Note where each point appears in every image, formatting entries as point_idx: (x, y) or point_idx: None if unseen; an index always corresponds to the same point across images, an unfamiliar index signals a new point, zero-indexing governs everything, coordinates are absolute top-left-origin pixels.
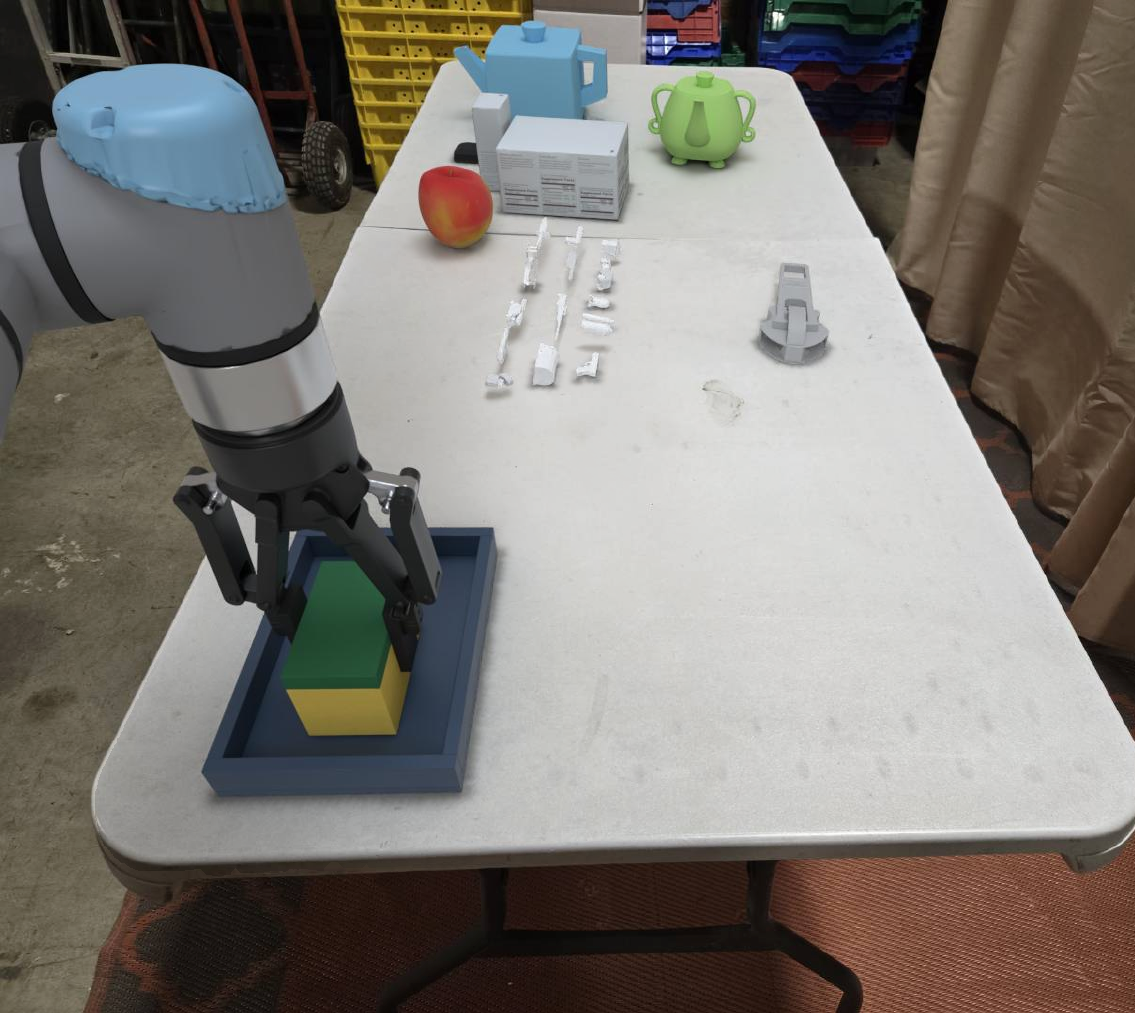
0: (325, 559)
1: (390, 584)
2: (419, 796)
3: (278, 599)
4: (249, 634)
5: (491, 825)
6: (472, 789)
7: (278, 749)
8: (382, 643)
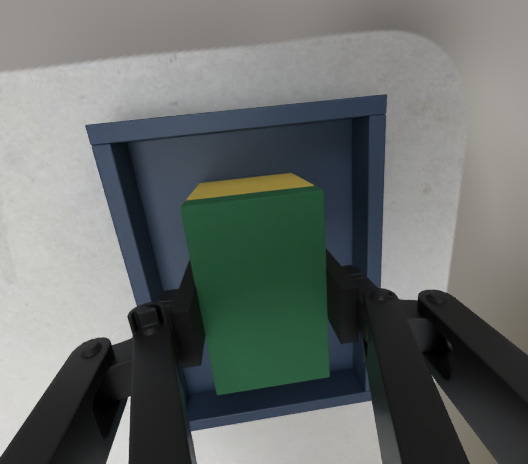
0: (341, 366)
1: (138, 373)
2: None
3: (363, 310)
4: (386, 280)
5: (61, 89)
6: None
7: (317, 155)
8: (193, 265)
